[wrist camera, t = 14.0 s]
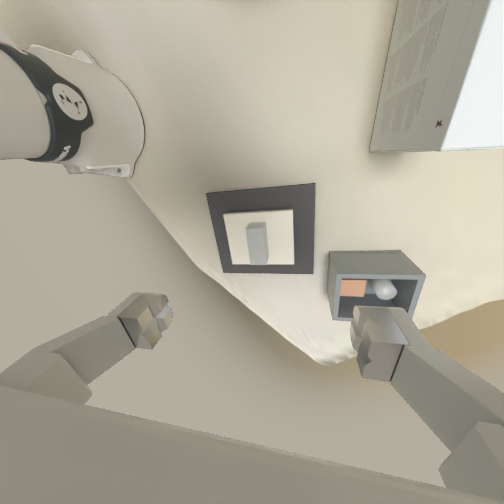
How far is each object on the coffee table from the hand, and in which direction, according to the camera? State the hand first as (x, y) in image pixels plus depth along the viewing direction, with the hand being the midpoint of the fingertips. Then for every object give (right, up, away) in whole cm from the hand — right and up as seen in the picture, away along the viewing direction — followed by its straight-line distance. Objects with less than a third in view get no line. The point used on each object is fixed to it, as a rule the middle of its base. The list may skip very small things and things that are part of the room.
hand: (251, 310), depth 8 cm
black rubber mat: (+2, +6, +31) cm, 31 cm away
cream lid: (+2, +6, +30) cm, 31 cm away
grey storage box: (+22, -2, +30) cm, 37 cm away
